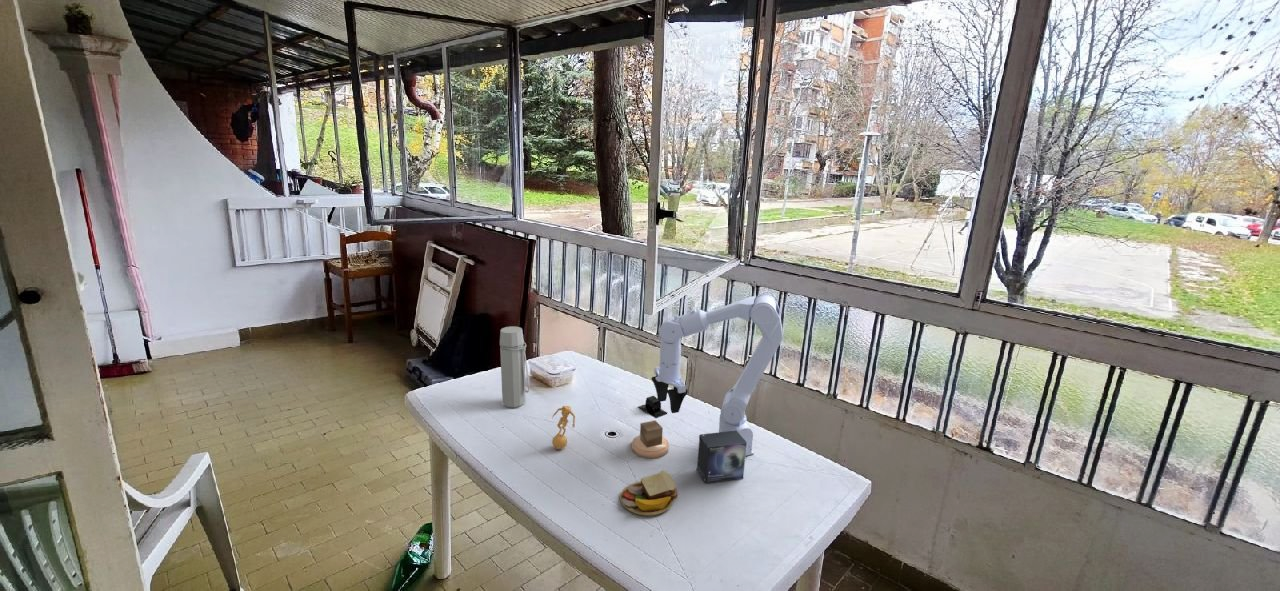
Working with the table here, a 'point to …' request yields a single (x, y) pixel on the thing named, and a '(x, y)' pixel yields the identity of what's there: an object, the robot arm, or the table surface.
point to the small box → (721, 456)
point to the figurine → (560, 439)
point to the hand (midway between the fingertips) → (668, 406)
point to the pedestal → (650, 448)
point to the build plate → (653, 407)
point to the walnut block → (651, 433)
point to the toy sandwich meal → (650, 495)
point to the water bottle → (513, 366)
